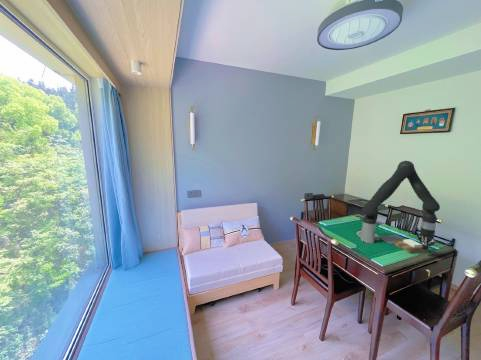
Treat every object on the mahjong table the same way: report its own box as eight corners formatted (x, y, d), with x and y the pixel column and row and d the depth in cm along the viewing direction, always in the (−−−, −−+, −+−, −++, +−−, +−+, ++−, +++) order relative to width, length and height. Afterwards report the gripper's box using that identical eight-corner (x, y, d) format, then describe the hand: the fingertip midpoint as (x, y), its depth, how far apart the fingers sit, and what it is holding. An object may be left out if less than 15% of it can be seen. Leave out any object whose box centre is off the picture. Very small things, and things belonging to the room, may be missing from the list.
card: (403, 241, 154) (403, 239, 154) (410, 241, 154) (410, 239, 154) (414, 247, 145) (414, 244, 145) (421, 247, 145) (421, 244, 145)
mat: (376, 236, 173) (376, 236, 173) (397, 235, 174) (397, 235, 174) (389, 243, 159) (389, 243, 159) (411, 242, 160) (411, 242, 160)
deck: (394, 244, 158) (394, 240, 157) (410, 243, 159) (410, 239, 158) (410, 253, 144) (411, 248, 143) (427, 252, 145) (428, 247, 144)
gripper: (414, 224, 144) (411, 245, 146) (432, 231, 131) (429, 254, 133) (423, 223, 144) (420, 245, 147) (443, 231, 131) (439, 254, 134)
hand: (424, 249), depth 140 cm, fingers closed
